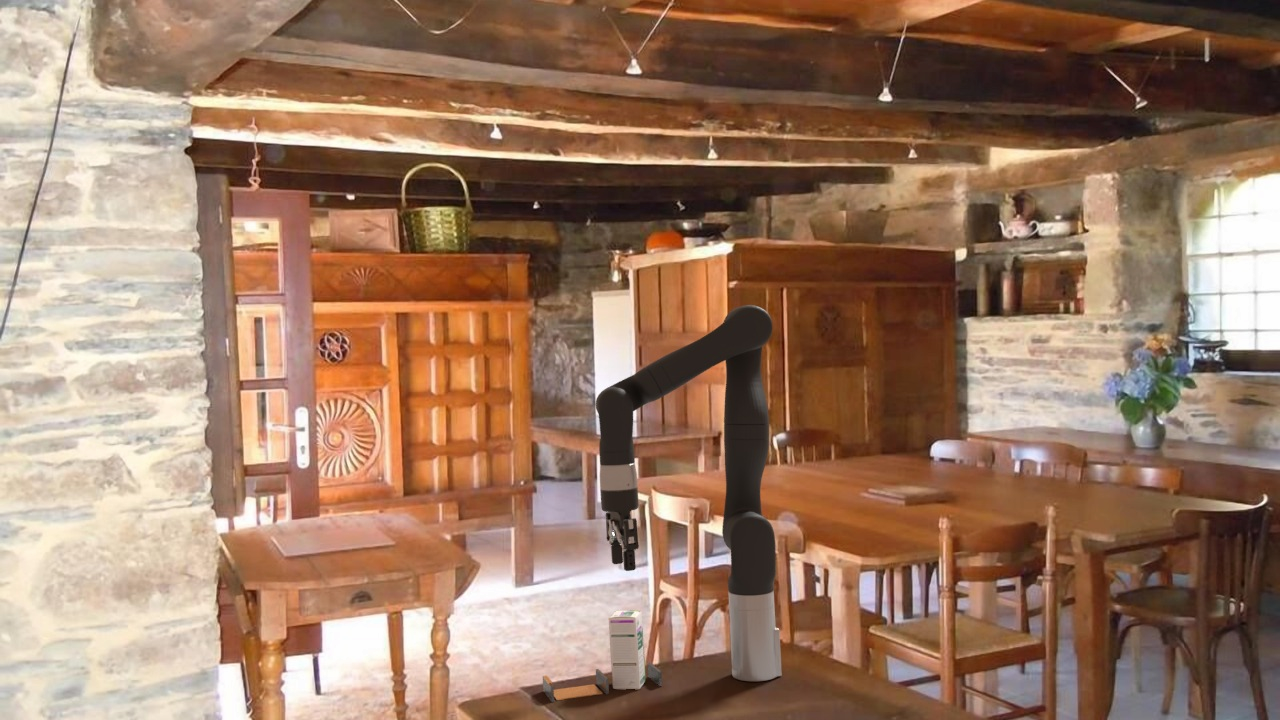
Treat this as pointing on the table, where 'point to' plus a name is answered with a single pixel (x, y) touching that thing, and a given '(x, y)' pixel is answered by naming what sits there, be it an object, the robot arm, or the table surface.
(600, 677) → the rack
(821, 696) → the table surface
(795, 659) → the table surface
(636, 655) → the syrup box
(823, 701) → the table surface
